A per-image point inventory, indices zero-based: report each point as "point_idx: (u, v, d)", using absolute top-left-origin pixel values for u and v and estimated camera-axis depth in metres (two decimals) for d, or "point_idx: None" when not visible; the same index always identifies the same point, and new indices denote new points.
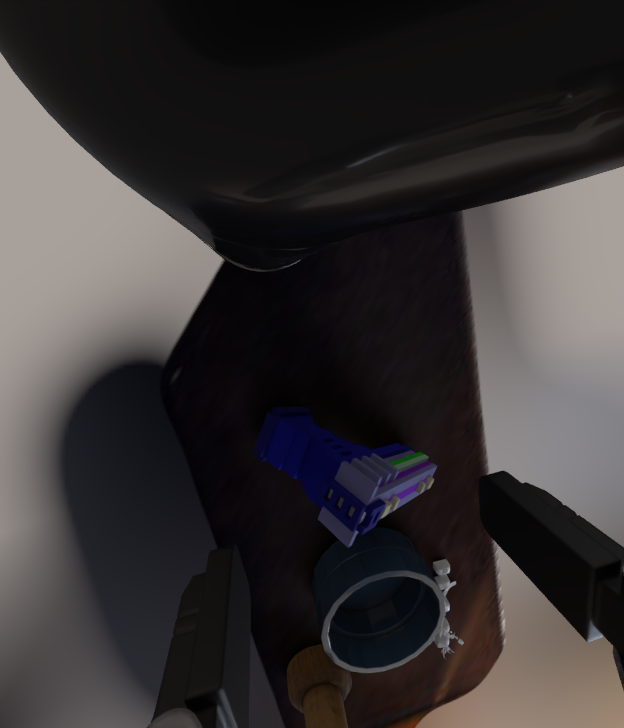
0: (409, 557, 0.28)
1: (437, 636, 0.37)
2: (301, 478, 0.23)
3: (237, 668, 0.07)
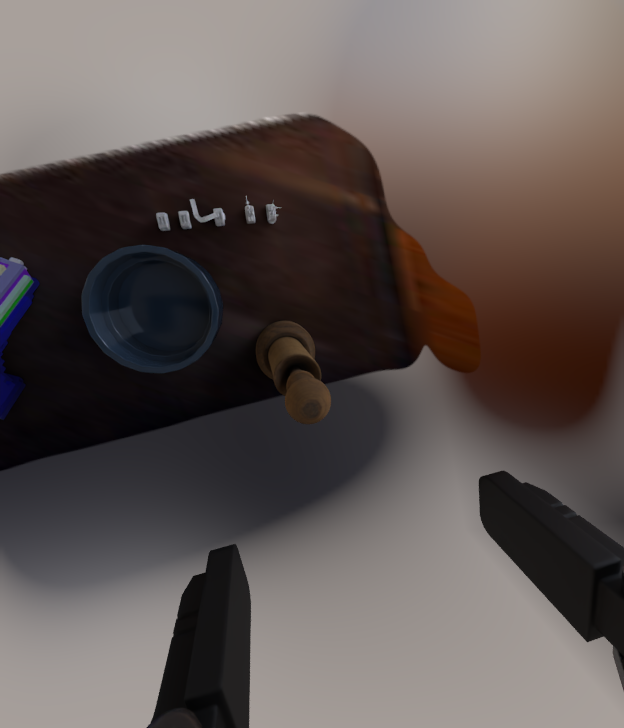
0: None
1: (267, 217, 0.33)
2: None
3: (237, 668, 0.07)
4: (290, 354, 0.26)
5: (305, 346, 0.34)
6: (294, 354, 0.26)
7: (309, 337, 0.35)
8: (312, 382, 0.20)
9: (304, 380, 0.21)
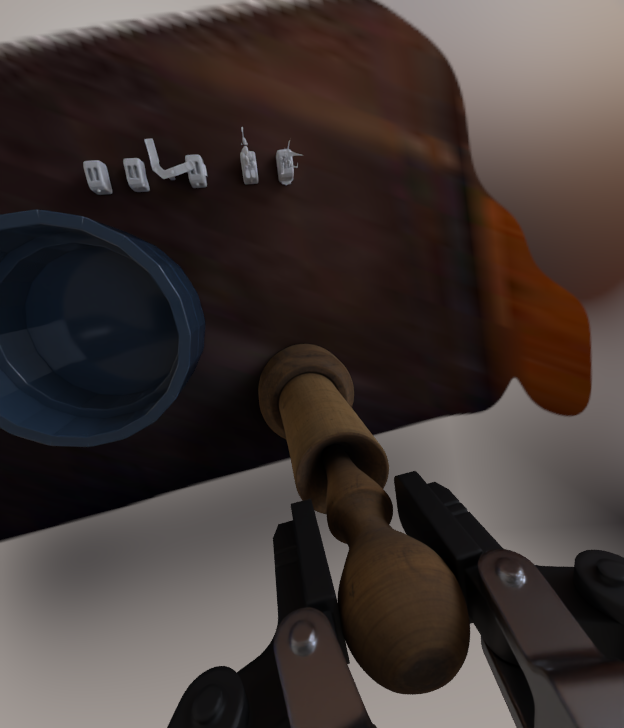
0: None
1: (278, 174, 0.20)
2: None
3: None
4: (329, 431, 0.13)
5: (339, 388, 0.21)
6: (338, 432, 0.13)
7: (345, 372, 0.21)
8: (423, 576, 0.07)
9: (397, 565, 0.07)
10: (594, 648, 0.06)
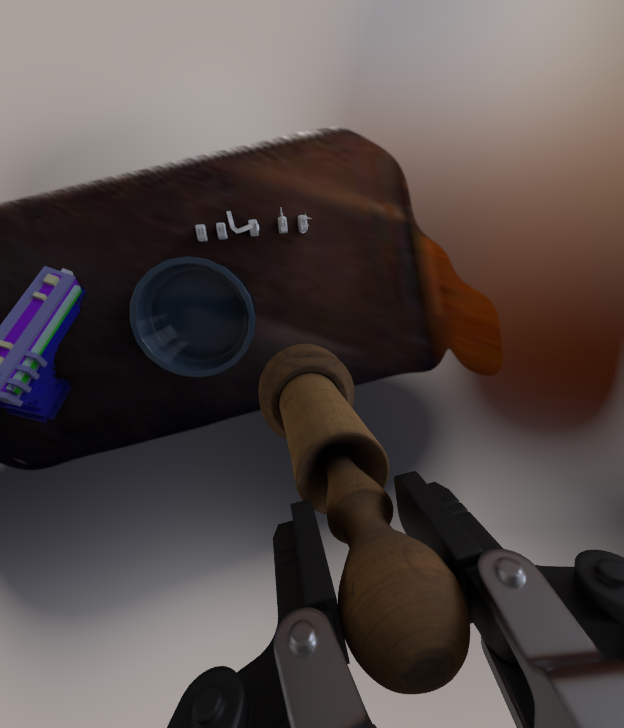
0: None
1: (299, 227, 0.34)
2: (35, 400, 0.30)
3: None
4: (330, 431, 0.13)
5: (340, 388, 0.21)
6: (338, 432, 0.13)
7: (346, 372, 0.21)
8: (423, 576, 0.07)
9: (397, 565, 0.07)
10: (594, 648, 0.06)
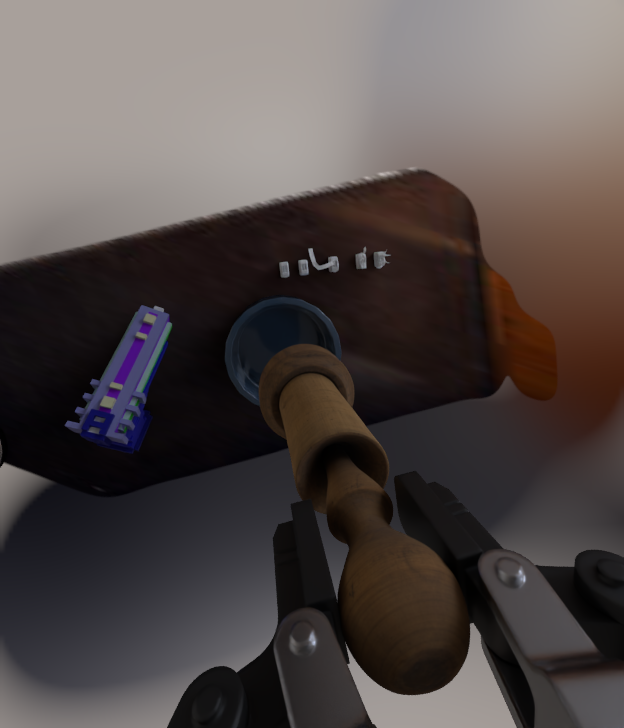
0: None
1: (375, 263, 0.35)
2: (130, 434, 0.31)
3: None
4: (329, 431, 0.13)
5: (340, 388, 0.21)
6: (338, 432, 0.13)
7: (346, 372, 0.21)
8: (423, 576, 0.07)
9: (397, 565, 0.07)
10: (594, 648, 0.06)
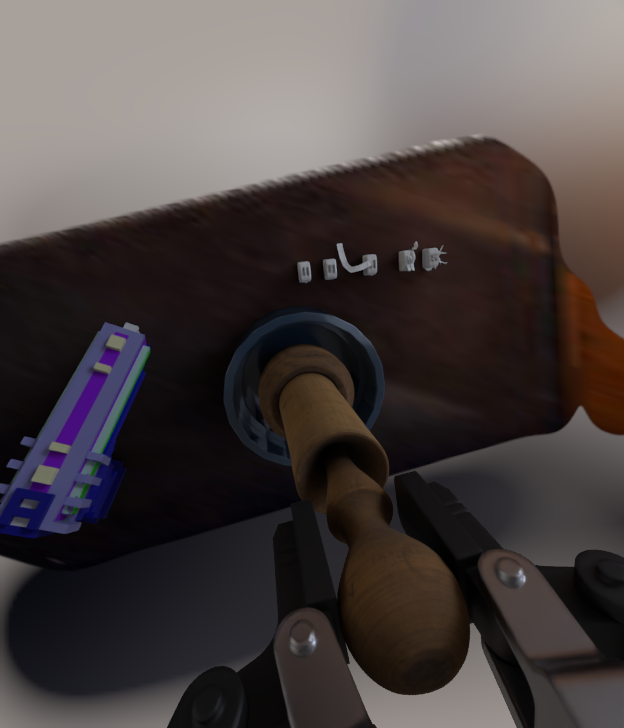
0: (232, 355, 0.22)
1: (424, 263, 0.27)
2: (90, 505, 0.22)
3: None
4: (329, 431, 0.13)
5: (340, 388, 0.21)
6: (338, 432, 0.13)
7: (346, 372, 0.21)
8: (423, 576, 0.07)
9: (397, 565, 0.07)
10: (594, 648, 0.06)
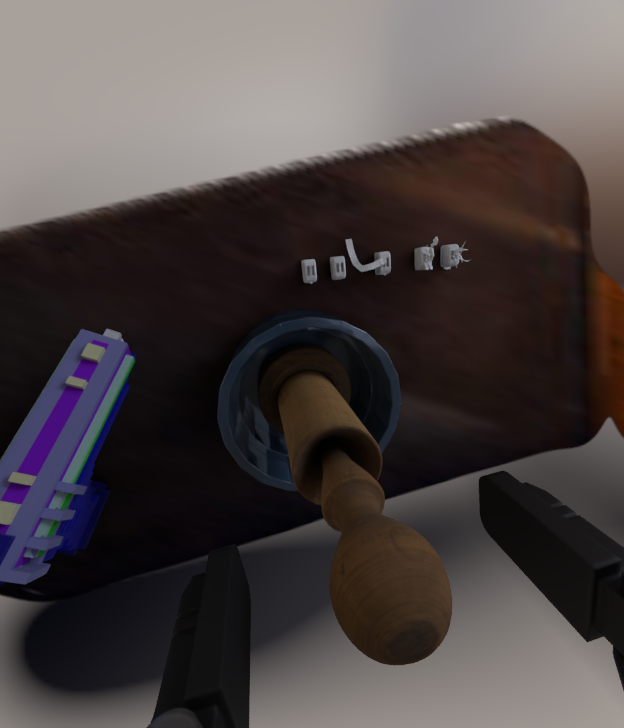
0: (228, 366, 0.20)
1: (443, 262, 0.24)
2: (64, 538, 0.19)
3: (237, 668, 0.07)
4: (325, 425, 0.13)
5: (337, 385, 0.21)
6: (333, 425, 0.13)
7: (342, 370, 0.22)
8: (408, 555, 0.08)
9: (384, 545, 0.08)
10: None
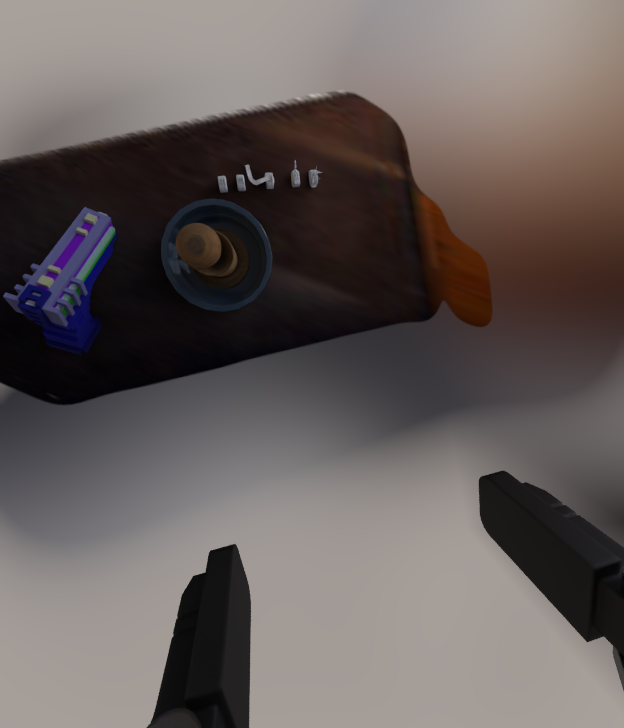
0: None
1: (310, 182, 0.38)
2: (74, 328, 0.33)
3: (237, 668, 0.07)
4: None
5: (237, 250, 0.36)
6: None
7: (242, 243, 0.36)
8: (199, 223, 0.22)
9: (192, 223, 0.22)
10: None
